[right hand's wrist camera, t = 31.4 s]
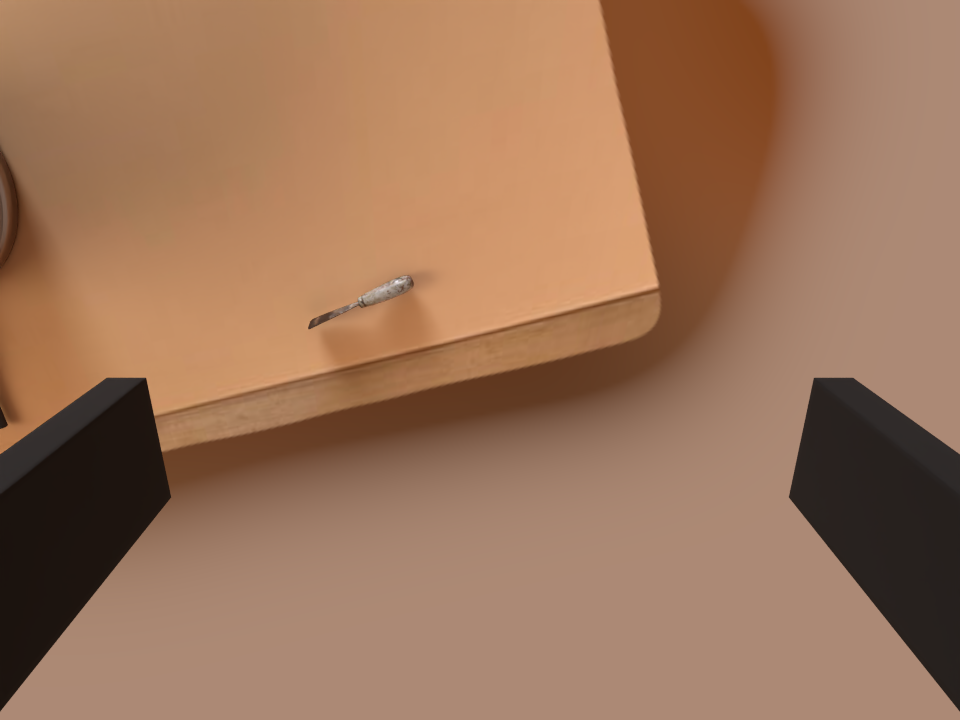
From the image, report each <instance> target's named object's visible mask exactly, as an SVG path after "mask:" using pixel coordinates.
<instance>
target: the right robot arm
mask: <svg viewBox="0 0 960 720" xmlns="http://www.w3.org/2000/svg"><path fill="white" fill-rule="evenodd" d="M17 223H18V206H17V197H16V192H15V187H14V183H13V180H12V177H11V174H10V171H9V168H8V166H7V163H6V161H5V159H4V157H3V155H2V153H1V151H0V268H1V267H2V265H3V264H4V262H5V261H6V259H7V258H8V255H9V253H10V251H11V249H12V246H13V243H14V240H15V236H16V231H17ZM7 425H8V424H7V422H6V420H5V417H4V415H3V412H2V410H1V408H0V429H1V428H4V427H6V426H7ZM170 498H171V495H170V490H169V485H168V480H167V476H166V471H165V466H164V461H163V457H162V452H161V447H160V442H159V437H158V433H157V428H156V423H155V418H154V414H153V409H152V404H151V399H150V395H149V390H148V385H147V380H146V378H106V379H105V380H103V381H102V382H101V383H99V384H98V385H96V386H95V387H94V388H92V389H91V390H89V391H88V392H87V393H85V394H84V395H82V396H81V397H80V398H78V399H77V400H75V401H74V402H73V403H71V404H70V405H68V406H67V407H66V408H64V409H63V410H62V411H60V412H59V413H57V414H56V415H55V416H53V417H52V418H50V419H49V420H48V421H46V422H45V423H43V424H42V425H41V426H39V427H38V428H36V429H35V430H34V431H32V432H31V433H29V434H28V435H27V436H25V437H24V438H22V439H21V440H20V441H18V442H17V443H16V444H14V445H13V446H11V447H10V448H9V449H7V450H6V451H4V452H3V453H2V454H0V711H1V710H2V708H3V707H4V706H5V705H6V703H7V702H8V701H9V700H10V698H11V697H12V696H13V695H14V693H15V692H16V691H17V690H18V688H19V687H20V686H21V685H22V683H23V682H24V681H25V680H26V678H27V677H28V676H29V675H30V673H31V672H32V671H33V670H34V668H35V667H36V666H37V665H38V663H39V662H40V661H41V660H42V658H43V657H44V656H45V655H46V653H47V652H48V651H49V650H50V648H51V647H52V646H53V645H54V643H55V642H56V641H57V639H58V638H59V637H60V636H61V635H62V633H63V632H64V631H65V630H66V628H67V627H68V626H69V625H70V623H71V622H72V621H73V619H74V618H75V617H76V616H77V614H78V613H79V612H80V611H81V609H82V608H83V607H84V606H85V604H86V603H87V602H88V601H89V599H90V598H91V597H92V596H93V594H94V593H95V592H96V591H97V589H98V588H99V587H100V586H101V584H102V583H103V582H104V581H105V579H106V578H107V577H108V576H109V574H110V573H111V572H112V571H113V569H114V568H115V567H116V566H117V564H118V563H119V562H120V561H121V559H122V558H123V557H124V556H125V554H126V553H127V552H128V550H129V549H130V548H131V547H132V546H133V544H134V543H135V542H136V541H137V539H138V538H139V537H140V536H141V534H142V533H143V532H144V531H145V529H146V528H147V527H148V525H149V524H150V523H151V522H152V521H153V519H154V518H155V517H156V516H157V514H158V513H159V512H160V511H161V509H162V508H163V507H164V506H165V504H166V503H167V502H168V500H169V499H170ZM789 498H790V499H791V500H792V502H793V503H794V504H795V506H796V507H797V508H798V509H799V511H800V512H801V513H802V514H803V516H804V517H805V518H806V519H807V521H808V522H809V523H810V524H811V525H812V527H813V528H814V529H815V531H816V532H817V533H818V534H819V536H820V537H821V538H822V539H823V541H824V542H825V543H826V544H827V546H828V547H829V548H830V549H831V551H832V552H833V553H834V554H835V556H836V557H837V558H838V559H839V561H840V562H841V563H842V564H843V566H844V567H845V568H846V569H847V571H848V572H849V573H850V574H851V576H852V577H853V578H854V579H855V581H856V582H857V583H858V584H859V586H860V587H861V588H862V589H863V591H864V592H865V593H866V594H867V596H868V597H869V598H870V599H871V601H872V602H873V603H874V604H875V606H876V607H877V608H878V609H879V611H880V612H881V613H882V614H883V616H884V617H885V618H886V619H887V621H888V622H889V623H890V625H891V626H892V627H893V628H894V630H895V631H896V632H897V633H898V635H899V636H900V637H901V638H902V640H903V641H904V642H905V643H906V645H907V646H908V647H909V648H910V650H911V651H912V652H913V653H914V655H915V656H916V657H917V658H918V660H919V661H920V662H921V663H922V665H923V666H924V667H925V668H926V670H927V671H928V672H929V673H930V675H931V676H932V677H933V678H934V680H935V681H936V682H937V683H938V685H939V686H940V687H941V688H942V690H943V691H944V692H945V693H946V695H947V696H948V697H949V698H950V700H951V701H952V702H953V703H954V705H955V706H956V707H957V708H958V710H959V711H960V454H958V453H957V452H956V451H954V450H953V449H951V448H950V447H949V446H947V445H946V444H944V443H943V442H942V441H940V440H939V439H938V438H936V437H935V436H933V435H932V434H931V433H929V432H928V431H926V430H925V429H923V428H922V427H921V426H919V425H918V424H917V423H915V422H914V421H912V420H911V419H910V418H908V417H907V416H905V415H904V414H903V413H901V412H900V411H898V410H897V409H896V408H894V407H893V406H892V405H890V404H889V403H887V402H886V401H885V400H883V399H882V398H880V397H879V396H878V395H876V394H875V393H873V392H872V391H871V390H869V389H868V388H866V387H865V386H864V385H862V384H861V383H859V382H858V381H857V380H855V379H854V378H814V380H813V385H812V390H811V395H810V400H809V404H808V409H807V414H806V419H805V423H804V428H803V433H802V438H801V442H800V447H799V452H798V457H797V461H796V466H795V471H794V476H793V480H792V485H791V490H790V495H789Z"/></svg>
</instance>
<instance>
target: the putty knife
mask: <svg viewBox="0 0 960 720" xmlns="http://www.w3.org/2000/svg"><path fill="white" fill-rule="evenodd" d="M413 286H414V283H413V280H412V278H411V277H410V276H408V275H406V276H402V277H399V278H396V279H394V280H391V281H389V282H387V283H385V284H383V285H381V286H379V287H377V288H375V289H373V290H371V291H369V292H367V293H365V294H364V295H362V296H361V297H359V298H358V302H356V303H353V304H350V305H348V306H345V307H342V308H339V309H337V310H334V311H332V312H329V313H326V314H324V315H321V316H319V317H317V318H314V319H313V320H311V321H310V324H309V327H308V329H311V328H313V327H315V326H317V325H319V324H321V323H323V322H325V321H327V320H330V319H332V318H334V317H336V316H338V315H340V314H342V313H344V312H346V311H348V310H350V309H352V308H354V307H356V306H358V305H359V306H360V307H361V308H363V307H367V306H371V305H374V304H377V303H380V302H383V301H386V300H389V299H391V298H394V297H396V296H399V295H401V294H403V293H405V292H407V291H409V290H410V289H412V288H413Z"/></svg>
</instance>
